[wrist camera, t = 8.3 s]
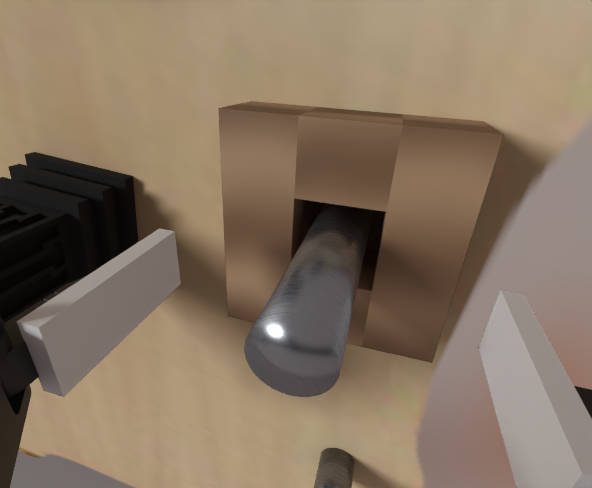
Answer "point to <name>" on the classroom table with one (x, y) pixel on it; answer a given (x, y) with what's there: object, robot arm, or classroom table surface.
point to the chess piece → (59, 226)
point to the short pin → (334, 469)
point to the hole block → (355, 193)
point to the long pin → (312, 306)
